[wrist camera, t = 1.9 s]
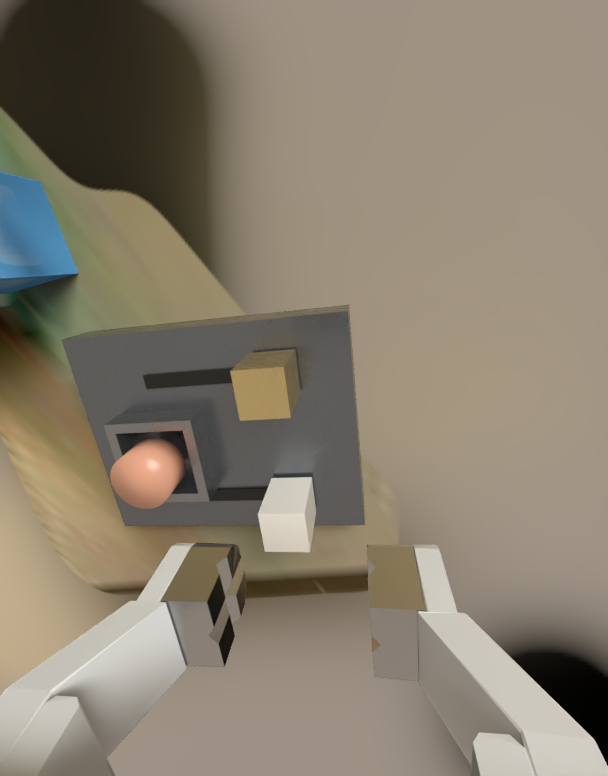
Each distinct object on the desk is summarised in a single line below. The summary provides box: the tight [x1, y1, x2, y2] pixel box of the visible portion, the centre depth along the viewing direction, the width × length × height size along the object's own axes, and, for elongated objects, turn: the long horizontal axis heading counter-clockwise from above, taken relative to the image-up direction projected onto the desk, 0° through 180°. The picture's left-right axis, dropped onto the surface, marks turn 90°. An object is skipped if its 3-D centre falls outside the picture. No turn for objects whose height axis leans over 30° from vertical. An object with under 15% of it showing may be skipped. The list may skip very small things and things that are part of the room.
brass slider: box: [230, 349, 301, 421], centre depth 22 cm, size 3×3×4 cm
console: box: [62, 305, 365, 526], centre depth 27 cm, size 20×16×5 cm
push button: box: [110, 437, 186, 509], centre depth 25 cm, size 4×4×2 cm
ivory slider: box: [258, 477, 316, 552], centre depth 25 cm, size 3×3×4 cm
